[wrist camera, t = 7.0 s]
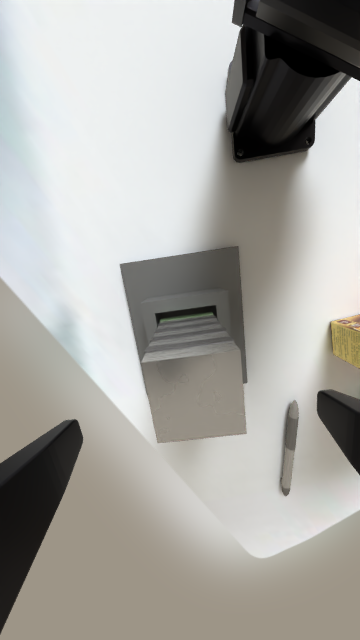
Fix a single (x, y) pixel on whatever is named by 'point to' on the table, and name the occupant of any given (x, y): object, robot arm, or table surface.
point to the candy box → (347, 339)
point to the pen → (290, 447)
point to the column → (194, 379)
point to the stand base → (185, 293)
